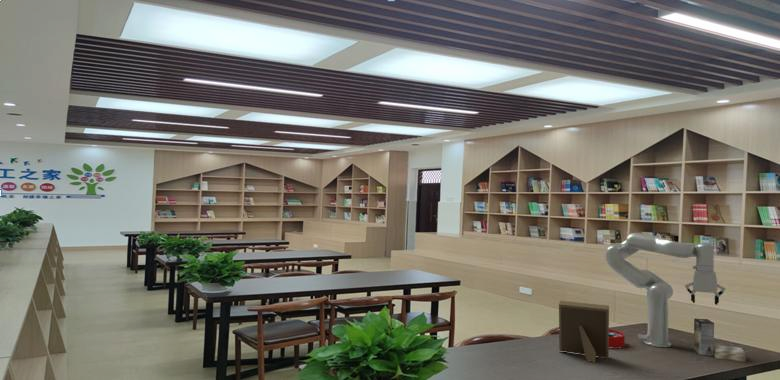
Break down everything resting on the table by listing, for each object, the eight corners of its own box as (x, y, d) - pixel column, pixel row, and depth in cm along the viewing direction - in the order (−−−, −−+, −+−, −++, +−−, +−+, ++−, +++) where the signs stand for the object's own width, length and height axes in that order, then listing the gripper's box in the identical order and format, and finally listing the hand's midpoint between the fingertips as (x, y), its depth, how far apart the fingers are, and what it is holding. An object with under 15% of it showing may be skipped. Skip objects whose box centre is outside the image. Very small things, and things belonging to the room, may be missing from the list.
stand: (715, 358, 251) (715, 349, 251) (712, 352, 261) (712, 344, 261) (745, 361, 246) (745, 353, 247) (740, 356, 257) (740, 347, 257)
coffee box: (693, 350, 265) (693, 318, 266) (707, 351, 264) (707, 318, 265) (700, 354, 256) (700, 321, 257) (714, 356, 255) (714, 322, 256)
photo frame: (560, 350, 257) (561, 298, 258) (608, 356, 248) (609, 303, 249) (556, 357, 244) (557, 303, 244) (607, 365, 235) (608, 309, 235)
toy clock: (582, 326, 287) (621, 330, 281) (581, 337, 286) (621, 341, 281) (584, 334, 267) (627, 338, 262) (584, 346, 267) (627, 350, 262)
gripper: (685, 268, 261) (685, 303, 261) (726, 270, 255) (726, 306, 254) (684, 267, 268) (684, 300, 268) (723, 269, 261) (723, 303, 261)
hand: (704, 303), depth 261 cm, fingers open, 9 cm apart
